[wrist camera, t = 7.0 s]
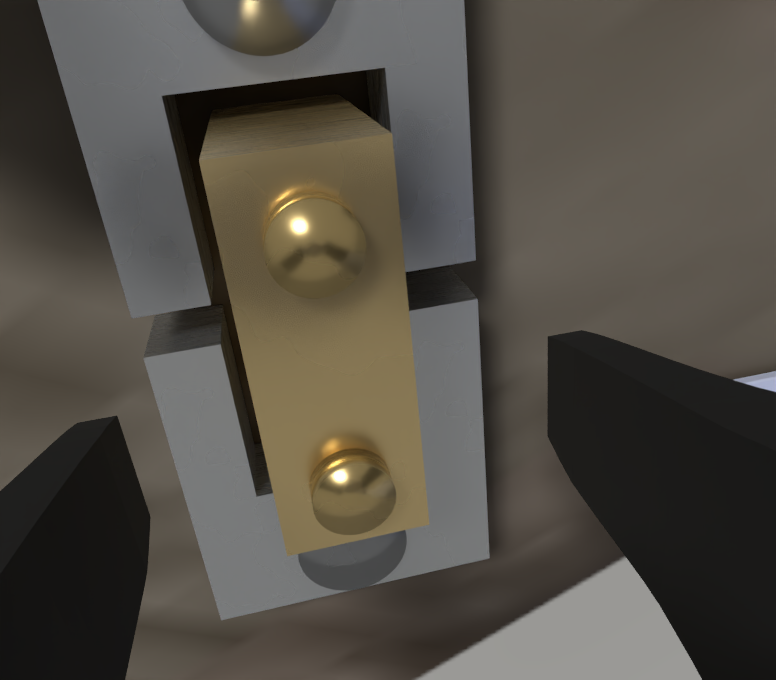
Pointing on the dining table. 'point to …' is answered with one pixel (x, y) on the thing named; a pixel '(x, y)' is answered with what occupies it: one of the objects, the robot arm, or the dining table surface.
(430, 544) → the grey slotted frame
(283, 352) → the gold bar with studs
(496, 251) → the dining table surface
